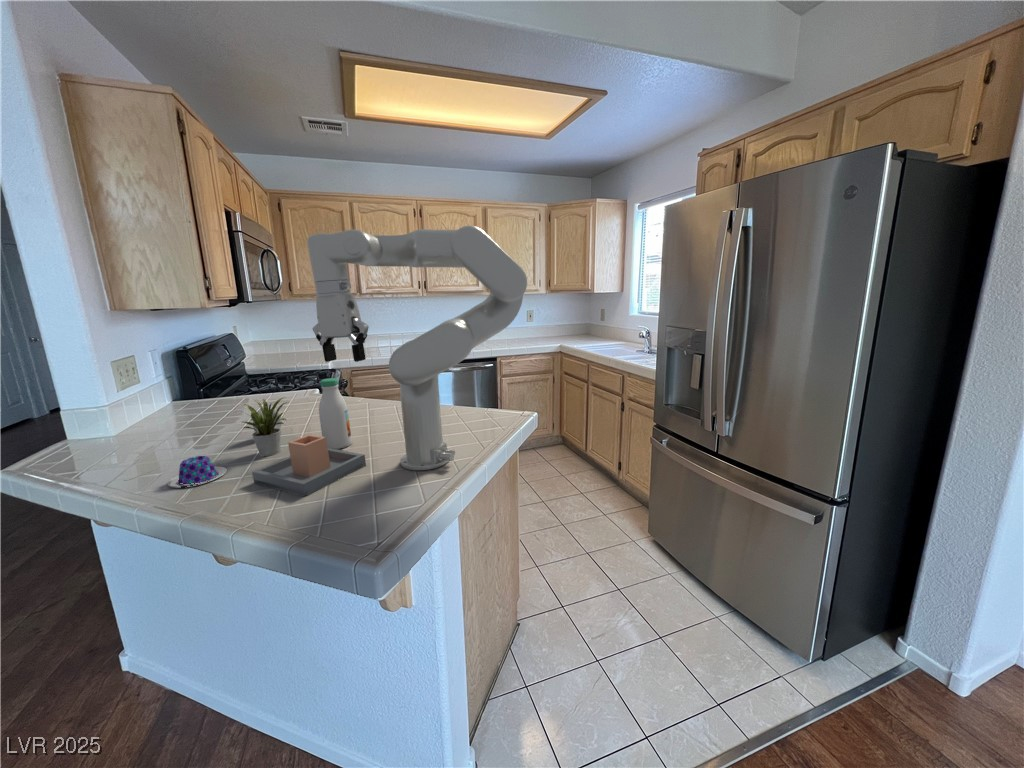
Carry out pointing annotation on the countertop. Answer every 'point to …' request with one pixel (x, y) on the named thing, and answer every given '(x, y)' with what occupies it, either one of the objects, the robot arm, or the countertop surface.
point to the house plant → (266, 428)
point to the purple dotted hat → (197, 471)
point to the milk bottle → (334, 415)
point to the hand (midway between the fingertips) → (345, 360)
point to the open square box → (309, 455)
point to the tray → (286, 480)
